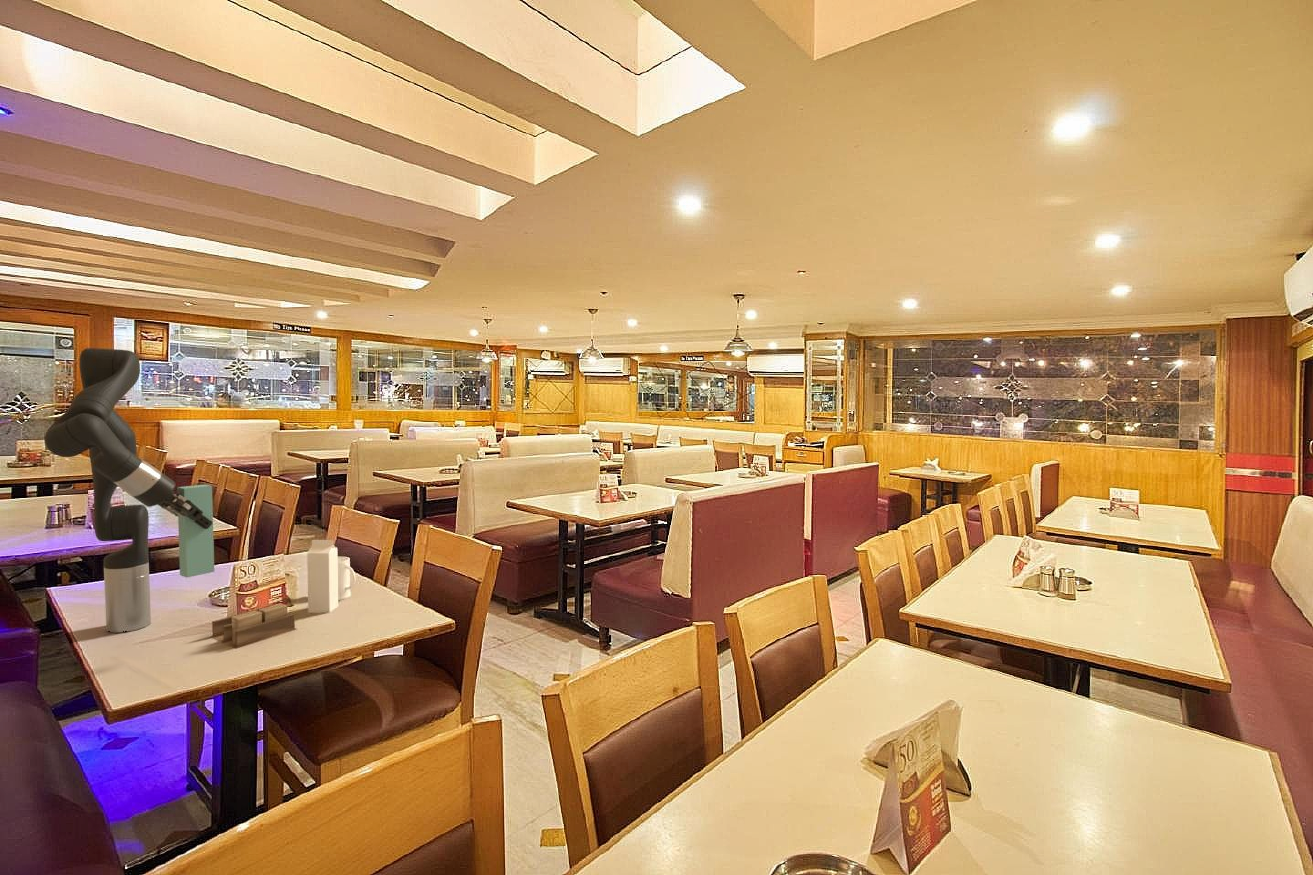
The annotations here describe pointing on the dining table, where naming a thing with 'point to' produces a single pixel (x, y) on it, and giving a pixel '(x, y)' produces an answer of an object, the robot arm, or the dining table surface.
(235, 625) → the offcut
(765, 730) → the dining table surface
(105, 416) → the robot arm
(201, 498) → the teal rectangular block
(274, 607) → the offcut
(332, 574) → the milk
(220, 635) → the rack
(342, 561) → the mug
